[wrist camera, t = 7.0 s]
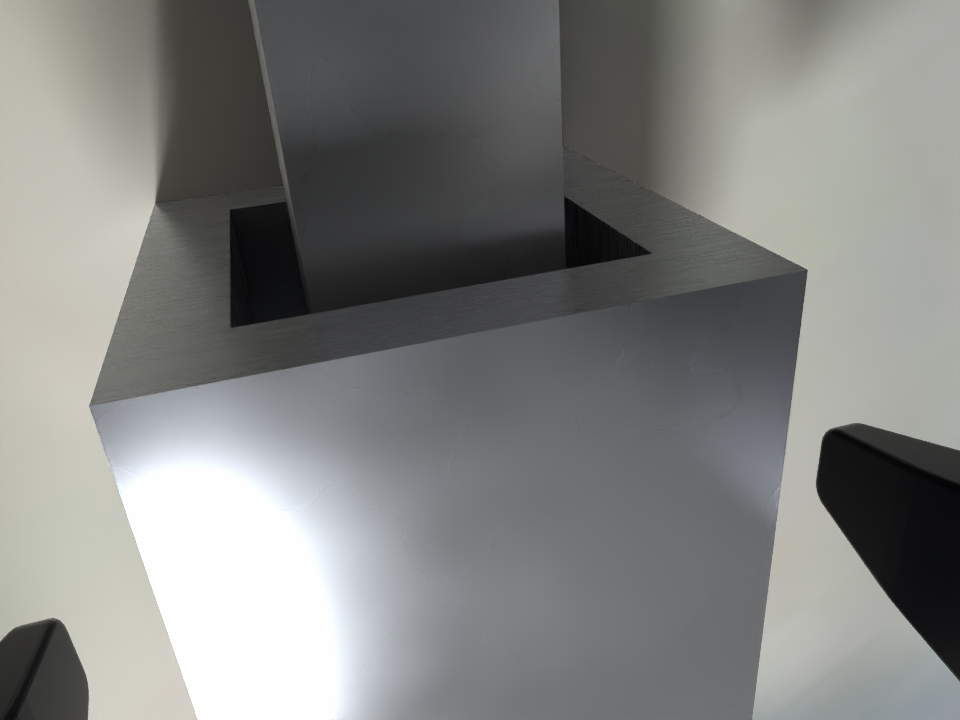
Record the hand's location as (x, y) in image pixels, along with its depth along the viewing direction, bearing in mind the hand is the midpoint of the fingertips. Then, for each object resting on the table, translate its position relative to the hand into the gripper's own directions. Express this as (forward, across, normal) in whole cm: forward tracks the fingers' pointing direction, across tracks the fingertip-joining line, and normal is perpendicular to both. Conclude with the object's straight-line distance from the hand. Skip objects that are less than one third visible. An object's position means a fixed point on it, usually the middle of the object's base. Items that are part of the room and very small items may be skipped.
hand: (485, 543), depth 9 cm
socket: (+5, 0, 0) cm, 5 cm away
